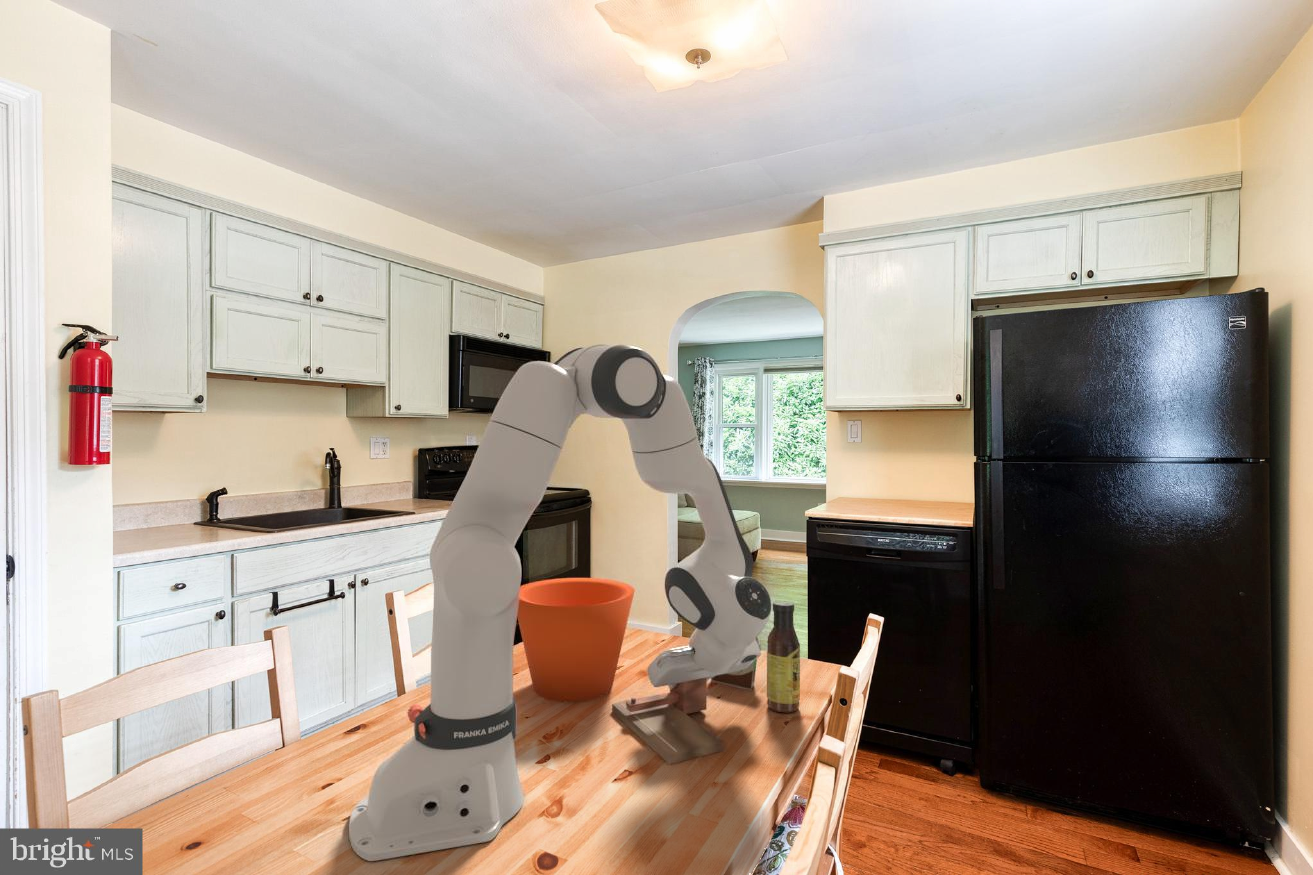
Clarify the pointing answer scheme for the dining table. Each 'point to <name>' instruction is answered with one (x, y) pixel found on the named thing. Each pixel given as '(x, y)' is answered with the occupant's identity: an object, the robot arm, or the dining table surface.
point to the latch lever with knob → (676, 698)
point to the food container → (740, 676)
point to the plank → (669, 732)
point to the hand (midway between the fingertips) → (686, 682)
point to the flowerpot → (573, 635)
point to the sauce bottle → (783, 661)
